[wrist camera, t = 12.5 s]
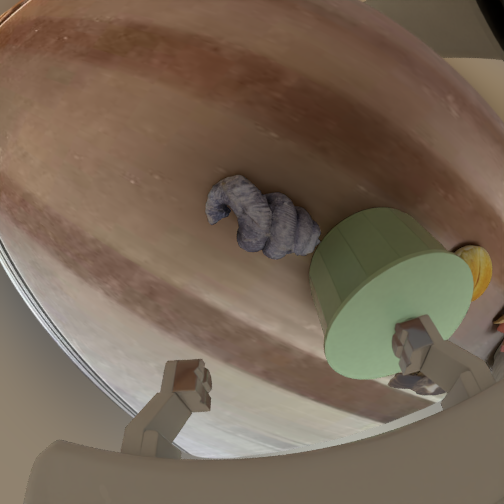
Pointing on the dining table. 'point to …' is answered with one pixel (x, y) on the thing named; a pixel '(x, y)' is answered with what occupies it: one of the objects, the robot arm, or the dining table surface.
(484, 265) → the bread roll
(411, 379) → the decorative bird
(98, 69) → the dining table surface
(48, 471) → the robot arm
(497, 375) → the vase
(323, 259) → the pot
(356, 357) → the pot lid
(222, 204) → the seashell
